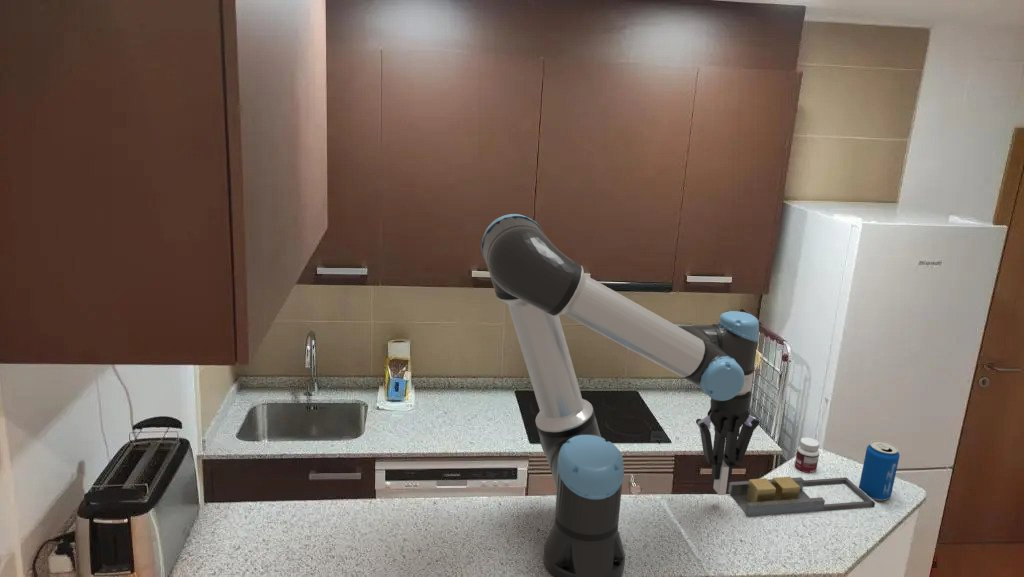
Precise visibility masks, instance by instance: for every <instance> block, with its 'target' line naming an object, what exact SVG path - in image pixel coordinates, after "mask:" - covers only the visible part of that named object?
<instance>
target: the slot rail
mask: <svg viewBox="0 0 1024 577" xmlns="http://www.w3.org/2000/svg"><path fill="white" fill-rule="evenodd" d="M791 478H792V479H793V480H794V481H795V482H796V483H797V484H798V485H799V486H800V491H799V497H798V499H792V500H778V501H765V502H751V503H750V501H749V500H748V499H747V498H746V497H747V491H748V484H749V480H741V481H730V482H729V483H728V490H727V491H728V492H727V494H729V496H730V497H731V498H732V499H733V500H734V501H735V503H736V504H737V505H738V506H739V508H740V509H741V510H742V511H743V513H744V514H745V515H746V516H747V517H748V518H749V517H750V518H751V517H752V518H753V517H754V518H755V517H763V516H766V517H767V516H778V515H791V514H804V513H814V512H815V513H816V512H824V511H823V509H824V504H826V503H825V502H826V499H824V498H823V497H810V496H809V495H808V494H807V493H806V492H805V491H804V490H803V489H804V487H803V484H804V480H805V479H804V478H803V477H800V476H799V477H791ZM772 480H773V478H771V479H768V481H769V482H770V483H771V484H772Z"/></svg>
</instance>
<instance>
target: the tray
mask: <svg viewBox="0 0 1024 577" xmlns="http://www.w3.org/2000/svg"><path fill="white" fill-rule="evenodd" d="M803 480H804V484H803V488H804V487H814V486H828V485H829V486H830V485H831V486H832V485H843V484H844V485H845V486H846V487H848V488H849V489H850V490H851V491H852V492H853V493H854V494H856V496H858V498H860V500H861V501H852V502H851V501H849V502H839V503H838V502H837V503H824V509H823V511H822V512H829V511H830V512H831V511H843V510H854V509H856V510H857V509H866V508H867V509H869V508H874V507H875V506H876V502H875V500H873V499H871V498H870V497H869V496H868V495H867V494H866V493H865V492H863V491H862V490H861V489H860V488H859V486H857V485H855V484H854V483H853V482H852V481H851V480H850V479H849V478H847V477H845V476H844V477H834V478H831V477H830V478H818V479H803Z"/></svg>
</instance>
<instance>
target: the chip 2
mask: <svg viewBox="0 0 1024 577" xmlns="http://www.w3.org/2000/svg"><path fill="white" fill-rule="evenodd" d="M792 478H793V477H791V476H780V477H772V479H773V480H772V485H773V486H774V487H775V488H776V492H775V499H774V501H778V500H792V499H798V497H799V491H800V486H799V485H798V484H797V483H796V482H795V481H794V480H793V479H792Z"/></svg>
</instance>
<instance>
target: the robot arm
mask: <svg viewBox="0 0 1024 577" xmlns="http://www.w3.org/2000/svg"><path fill="white" fill-rule="evenodd" d="M480 250H481V251H480V252H481V255H482V257H483V259H484V261H485V263H486V266H487V270H488V273H489V276H490V279H491V283H492V286H493V289H494V292H495V296H496V297H497V300H499V301H500V302H501V301H502V302H503V303H506V304H507V307H508V310H509V313H510V316H511V317H510V318H511V321H512V322H513V323H512V324H513V326H514V329H515V333H516V336H517V340H518V343H519V346H520V350H521V353H522V356H523V359H524V363H525V366H526V369H527V372H528V375H529V379H530V382H531V385H532V389H533V392H534V395H535V400H536V402H537V406H538V408H539V412H538V413H537V415H536V417H535V425H536V429H537V432H538V435H539V438H540V440H539V443H540V446H541V449H542V452H543V453H544V455H545V458H546V461H547V464H548V467H549V470H550V472H551V475H552V479H553V481H554V485H555V490H556V492H555V493H556V498H555V511H554V512H555V515H554V516H555V517H554V522H553V524H552V526H551V529H550V530H549V533H548V536H547V538H546V540H545V543H544V547H543V555H542V556H543V557H542V558H543V564H544V567H545V569H546V570H547V571H549V572H550V573H551V574H552V575H553V576H554V577H621V576H622V574H623V573H624V570H625V561H626V556H625V555H626V554H625V550H624V545H623V541H622V538H621V536H620V532H619V520H620V519H619V518H620V512H621V511H620V510H621V500H622V491H623V482H624V477H625V473H624V471H625V469H624V458H623V455H622V453H621V451H620V450H619V448H618V447H617V446H616V444H614V443H613V442H611V441H606V439H605V438H604V437H602V435H601V433H600V432H601V431H600V429H599V426H598V421H597V418H596V414H595V412H594V408H593V405H592V403H590V402H589V401H588V400H587V399H584V398H582V393H581V389H580V386H579V382H578V378H577V374H576V373H575V369H574V364H573V362H572V361H573V360H572V357H571V355H570V351H569V347H568V343H567V340H566V336H565V333H564V329H563V326H562V322H561V318H560V315H564V316H566V317H568V318H570V319H572V320H573V321H576V322H577V323H578V324H581V325H582V326H585V327H587V328H589V329H591V330H592V331H594V332H596V333H597V334H600V335H602V336H604V337H605V338H607V339H609V340H611V341H613V342H615V343H617V344H618V345H620V346H623V347H624V348H626V349H628V350H630V351H632V352H634V353H636V354H637V355H639V356H641V357H643V358H645V359H646V360H649V361H651V362H652V363H655V364H656V365H659V366H660V367H662V368H664V369H666V370H668V371H670V372H672V373H673V374H675V375H677V376H679V377H680V378H683V379H684V380H686V381H688V382H689V383H691V384H694V385H696V386H697V387H698V388H699V389H701V391H702V393H704V394H705V395H707V396H708V397H709V398H710V408H709V409H708V411H707V415H706V416H705V417H704V418H702V419H701V418H697V419H696V421H695V423H696V425H697V426H698V428H699V433H700V438H701V439H700V440H701V444H702V451H703V452H702V453H703V457H704V459H705V460H706V463H708V464H709V465H710V466H711V476H712V478H713V479H714V480H713V487H712V488H713V490H714V491H715V492H716V494H718V495H717V496H726V495H727V494H726V493H727V487H728V479H731V478H732V473H733V469H734V468H736V466H737V464H736V463H739V464H740V463H742V462H743V461H744V459H745V458H744V457H745V454H746V452H747V450H748V446H749V444H750V441H751V439H752V437H753V434H754V431H755V430H756V429H757V427H759V424H760V421H759V420H758V419H757V418H756V417H755V416H754V415H752V414H750V411H749V409H750V404H751V396H752V388H753V387H752V386H753V380H754V371H755V363H756V355H757V349H758V343H759V340H760V339H759V336H760V334H759V333H760V321H759V319H758V318H757V317H755V316H754V315H753V314H751V313H748V312H745V311H737V310H729V311H727V312H723V313H721V314H720V316H719V319H718V321H717V323H713V324H689V325H688V324H685V325H680V324H675V323H673V322H671V321H669V320H667V319H665V318H663V316H660V315H658V314H656V312H653V311H651V310H649V309H648V308H646V307H644V306H642V305H640V304H638V303H636V302H635V301H633V300H631V299H629V298H628V297H626V296H624V295H623V294H621V293H619V292H617V291H616V290H613V289H612V288H611V287H610V288H609V287H607V286H606V285H604V284H602V283H601V282H600V281H597V280H595V279H594V278H592V277H590V276H589V275H587V274H585V271H584V267H583V265H581V264H579V263H578V262H576V261H574V260H572V259H571V258H569V257H568V256H567V255H565V254H564V253H563V252H562V251H561V250H559V249H558V248H557V247H556V246H555V245H554V243H552V242H551V240H550V239H549V238H548V237H547V235H546V234H545V233H544V232H543V229H542V228H541V226H540V225H539V224H538V222H536V221H535V220H534V219H533V218H530V217H528V216H526V215H522V214H519V213H510V214H505V215H502V216H500V217H498V218H496V219H494V220H493V221H491V223H490V224H489V225H488V226H487V228H486V229H485V231H484V234H483V235H482V239H481V245H480ZM711 423H712V425H713V430H714V438H713V442H712V434H711V431H710V430H711ZM549 572H548V573H549ZM550 573H549V574H550ZM551 574H550V575H551ZM552 575H551V576H552ZM553 576H552V577H553Z"/></svg>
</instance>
